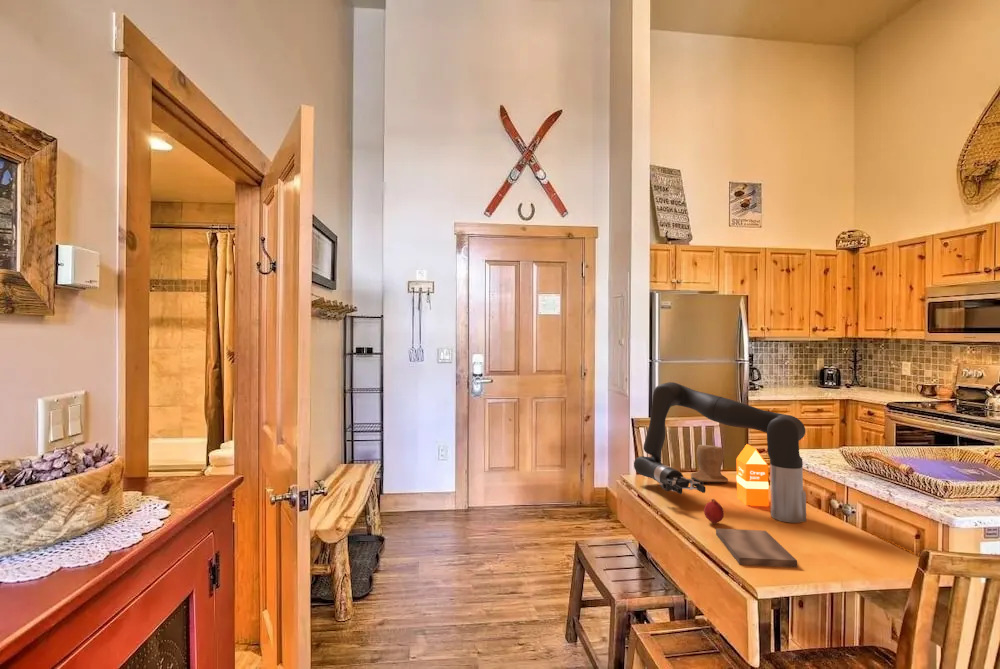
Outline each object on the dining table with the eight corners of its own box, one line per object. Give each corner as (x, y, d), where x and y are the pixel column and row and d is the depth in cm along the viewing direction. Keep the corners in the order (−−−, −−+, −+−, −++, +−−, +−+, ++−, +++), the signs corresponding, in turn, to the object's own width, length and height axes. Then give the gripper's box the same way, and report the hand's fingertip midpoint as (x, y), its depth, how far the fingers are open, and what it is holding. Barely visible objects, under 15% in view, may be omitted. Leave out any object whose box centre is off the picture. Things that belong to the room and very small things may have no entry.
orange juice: (758, 498, 180) (757, 443, 181) (769, 506, 172) (768, 449, 172) (736, 497, 181) (735, 443, 182) (745, 505, 172) (745, 448, 173)
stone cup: (721, 477, 208) (720, 442, 209) (731, 485, 197) (730, 448, 197) (684, 476, 210) (684, 441, 210) (692, 484, 198) (691, 447, 199)
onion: (707, 519, 159) (707, 494, 160) (726, 523, 156) (725, 498, 156) (701, 524, 155) (701, 499, 155) (721, 528, 151) (720, 502, 151)
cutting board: (765, 536, 145) (765, 530, 145) (797, 567, 125) (797, 560, 125) (716, 534, 147) (715, 528, 147) (739, 564, 127) (739, 557, 127)
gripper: (650, 467, 181) (673, 480, 165) (685, 466, 184) (711, 478, 168) (650, 488, 181) (673, 502, 165) (685, 486, 184) (711, 500, 168)
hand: (692, 490), depth 167 cm, fingers open, 8 cm apart
